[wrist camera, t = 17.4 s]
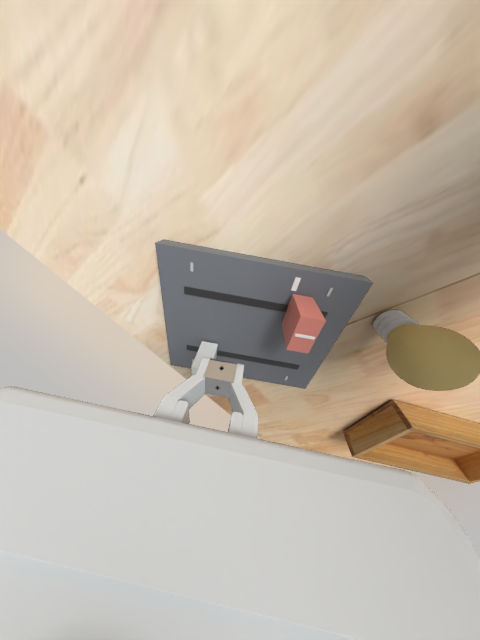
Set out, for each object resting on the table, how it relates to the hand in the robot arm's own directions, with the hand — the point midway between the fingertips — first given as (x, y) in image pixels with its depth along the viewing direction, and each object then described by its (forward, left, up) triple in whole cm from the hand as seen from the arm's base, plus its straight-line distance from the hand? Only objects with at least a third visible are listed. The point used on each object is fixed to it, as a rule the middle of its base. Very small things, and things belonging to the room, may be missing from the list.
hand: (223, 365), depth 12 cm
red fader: (-7, 0, -10) cm, 13 cm away
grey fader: (+3, +10, -10) cm, 15 cm away
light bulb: (-20, 0, -13) cm, 24 cm away
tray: (-46, +26, -13) cm, 54 cm away
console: (-2, +5, -13) cm, 14 cm away
